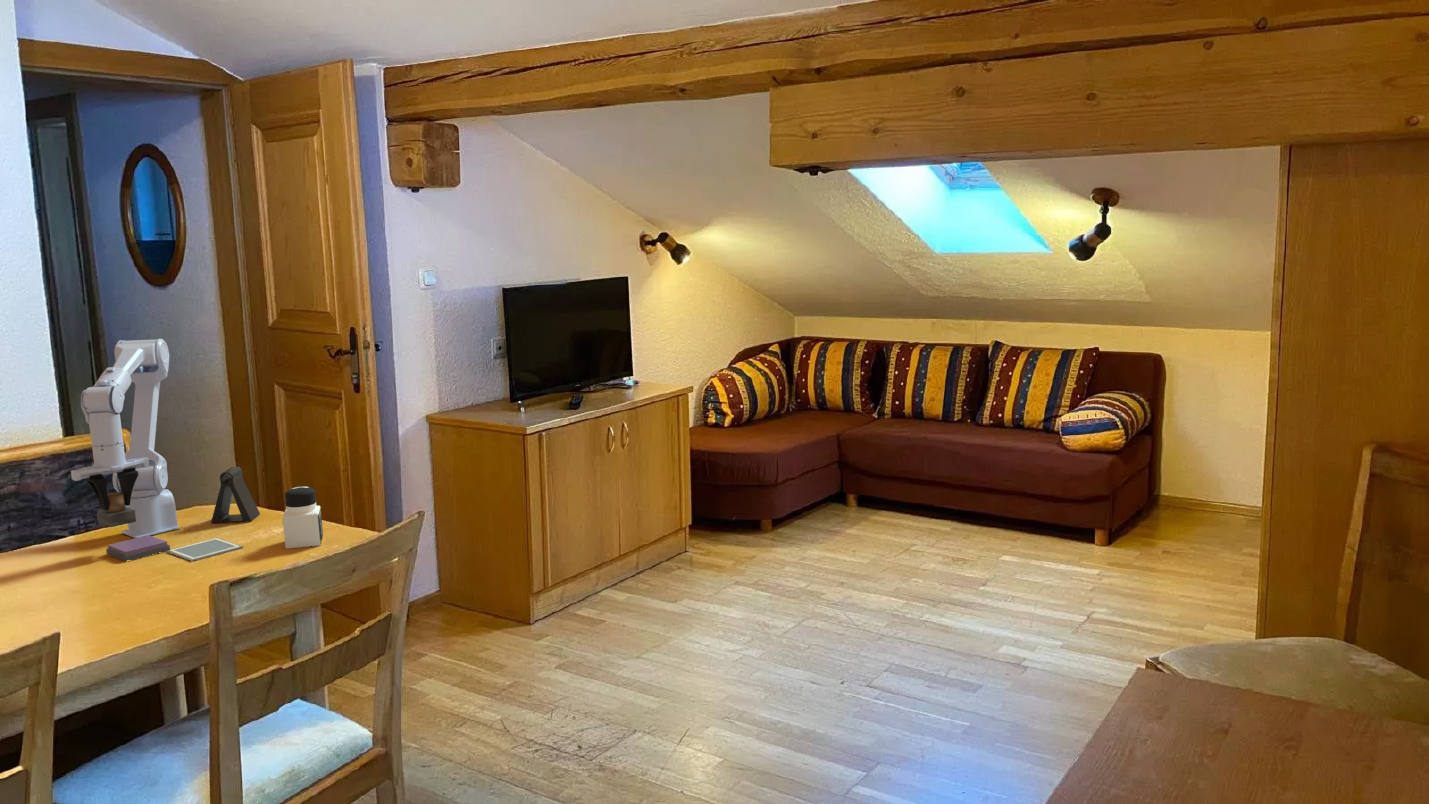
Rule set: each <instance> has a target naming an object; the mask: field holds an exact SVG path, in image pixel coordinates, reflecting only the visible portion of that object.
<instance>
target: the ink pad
mask: <svg viewBox="0 0 1429 804" xmlns="http://www.w3.org/2000/svg"><path fill="white" fill-rule="evenodd" d="M170 547H171V545H170V544H168V541H166V540H164V539H161V538H159V537H156V536H154V535H147V536H143V537H139V538H132V539H127V540H123V541H119V542H115V543H111V544H107V548H105V549H106V555H107V554H108V556H110V555H111V556H110V557H112V556H113V558H115V557H116V559H117V558H118V560H120V561H122V560H124V561H123V562H125V561H127V560H132V561H135V560H134V559H136V560H138V559H137V558H140V559H142V557H144V558H146V557H145V556H147V557H150V556H149V555H151V556H153V555H152V554H155V555H157V554H156V553H159V552H163V553H167V552H166V551H168V550H171V548H170ZM159 554H160V553H159Z"/></svg>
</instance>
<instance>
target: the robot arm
mask: <svg viewBox="0 0 1429 804" xmlns="http://www.w3.org/2000/svg"><path fill="white" fill-rule="evenodd" d="M114 358H115V362H114V364H113V366H112V367H109V366H108V367H106V369H105V370H103V371H102V373H101V374H100V376H99V378H98V379H97V380H96V382H95V384H94V385H93V386H90V387H87V388H86V389H84V390H83V391H82V393H81V395H80V408H81V411H82V412H83V414H84V417H85V418H84V419H85V422H86V424H87V425H88V426H89V432H90V440H91V448H92V457H93V465H89V466H85V467H82V468H78V469H72V470H70V475H71V480H73V481H75V482H77V481H78V482H79V481H82V480H83V479H85V482H86V483H87V484H88V485H89V487H90V488H91V490H92V491H93V493H94V494H95V496H96V498H97V500H98V504H99V506H100V508H101V509H100V510H109V503H108V498H107V494H108V479H106V478H105V477H104V476H105V475H110V474H112V485H113V488H114V489H115V491H116V492H123V493H124V498H125V507H127V508H130V509H133V510H135V516H136V522H133V523H128V524H127V529H125V530H121V534H123V535H126V536H129V537H130V538H133V539H135V538H139V537H143V536H147V535H150V536H154V535H158V534H161V533H166V532H171V531H174V530H178V529H180V526H179V525H178V517H177V508H176V501H175V497H174V496H173V493H172V492H171V491H170V490H169V489H166V488H167V486H168V480H169V479H168V478H169V477H168V476H169V474H168V465H167V464H168V463H167V460H166V459H165V457H164V456H162V455H161V454H159V453H158V452H157V451H155V445H156V433H157V421H158V409H159V396H160V388H161V381H163V380H165V379H167V377H168V372H169V366H170V365H169V364H170V351H169V348H168V344H167V343H166V341H165V340H164V339H163V338H158V339H157V338H156V339H138V340H137V339H136V340H133V339H132V340H123V339H121V340H118V341H117V343H116V344H115V346H114ZM132 383H134V385H135V387H134V398H133V399H134V400H133V409H132V411H133V412H132V420H131V421H132V422H131V431H130V440H129V442H130V443H129V449H128V450H127V451H126V452H125V444H124V436H123V429H122V422H121V421H122V420H121V414H120V413H121V412H122V411H123V410H124V409H123V408H124V403H125V402H124V401H125V398H126V397H125V394H126V392H127V391H128V390H129V388H130V386H131V385H132Z"/></svg>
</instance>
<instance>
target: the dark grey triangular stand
mask: <svg viewBox="0 0 1429 804" xmlns="http://www.w3.org/2000/svg"><path fill="white" fill-rule="evenodd" d="M219 480H220V481H219V482H220V488H219V491H218V495H217V498H216V502H215V506H214V510H213V513H212V518H211V521H210V523H211V524H212V525H217V524H218V525H219V524H231V523H232V524H235V523H236V524H237V523H238V524H239V523H251V522H253V521H254V520H255V519H256V518H257V517H258V516H260V515H261V513H260V510H259V508H258V506H257V504H256V502H255V500H254V498H253V497H252V495H251V492H250V490H249V489H248V487H247V485H246V483H245V480H244V477H243V470H242V468H241V467H240V466H237V465H236V466H235V467H234V466H231V467H230V468H228V469H226V470H225V471H224V472H222V473H220V475H219ZM232 496H233V498H234V501H235V503H236V505H237V508H238V512H239V514H230V510H231V509H230V508H231V503H232Z"/></svg>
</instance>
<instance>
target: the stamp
mask: <svg viewBox="0 0 1429 804" xmlns="http://www.w3.org/2000/svg"><path fill="white" fill-rule="evenodd" d="M107 498H108V503H109V510H103V509H100V510H96V514H97V515H96V516H97V523H99V524H101V525H104V526H107V527H110V528H113V527H118V526H123V525H128V523H133V522H136V516H135V510H133V509H130V508H127V507H126V506H125V498H124V493H123V492H117V491H116V492H109V493H107Z"/></svg>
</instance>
